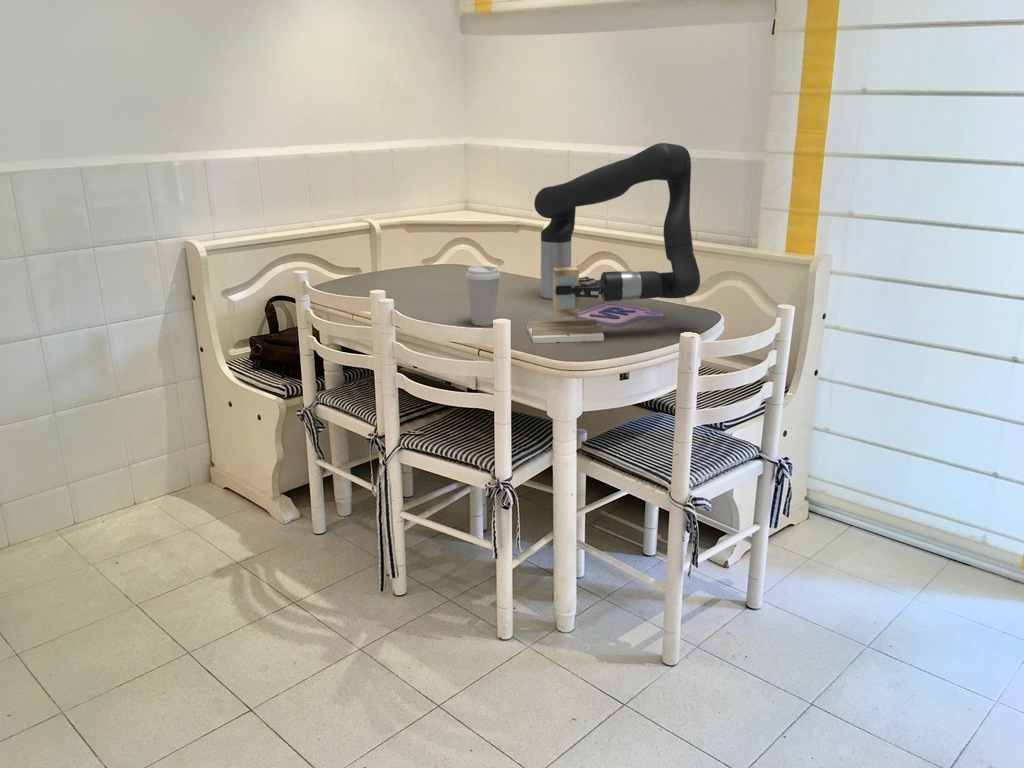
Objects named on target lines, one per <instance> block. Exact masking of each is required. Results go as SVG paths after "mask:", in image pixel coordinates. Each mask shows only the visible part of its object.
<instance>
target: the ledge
mask: <svg viewBox="0 0 1024 768" xmlns="http://www.w3.org/2000/svg"><path fill="white" fill-rule="evenodd" d="M527 323H528V324H527V325H526V327H527V328H526V330H527V333H528V335H529V337H530V339H531V341H532V343H533V344H553V343H554V344H556V342H560V343H581V342H582V341H583V342H584V341H585V342H599V341H600V342H604V340H605V334H604V333H603V330H604V329H603V325H598V324H597V320H596V319H575V318H574V319H557V320H556V319H555V320H553V319H552V320H551V319H549V320H528V321H527ZM583 342H582V343H583ZM585 342H584V343H585Z"/></svg>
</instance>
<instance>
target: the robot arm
mask: <svg viewBox="0 0 1024 768" xmlns="http://www.w3.org/2000/svg"><path fill="white" fill-rule="evenodd" d="M691 159H692V158H691V155H690V152H689V151H688V149H687V147H685V146H683V145H680V144H674V143H667V142H659V143H655V144H653V145H650V146H648V148H645V149H643V150H642V151H640V152H638V153H635V154H634V155H631V156H630V157H627V158H624V159H621V160H618V161H615V162H612V163H609V164H605V165H603V166H600V167H598V168H596V169H593V170H590V171H589V172H586V173H584V174H581V175H579V176H578V177H575V178H573V179H571V180H569V181H567V182H564V183H561V184H556V185H552V186H545V187H543V188H541V189H540V190H539V191H538V192H537V193H536V196H535V198H534V202H533V203H534V204H533V205H534V209H535V211H536V213H537V214H538V215H540V216H541V217H543V218H546V219H551V220H550V221H549V224H547V225H546V227H544V229H542V230H541V233H540V297H541V298H545V299H548V300H549V299H550V300H553V268H564V267H572V235H573V234H574V233H573V232H574V230H575V223H576V208H577V207H583V206H589V205H597V204H600V203H604V202H608V201H611V200H613V199H617V198H619V197H621V196H623V195H624V194H626V192H628V191H629V190H630V188H631V187H633V186H635V185H637V184H640V183H644V182H650V181H655V180H656V181H657V180H658V181H667V185H668V192H669V202H668V207H667V211H666V215H665V218H664V222H663V241H664V242H663V243H664V250H665V255H666V259H667V260H668V261H670V264H671V270H672V271H669V272H658V271H657V270H656V271H653V270H647V271H646V270H645V271H643V270H642V271H633V270H618V271H617V270H616V271H603V272H602V273H601V275H600V279H595V277H589V276H585V277H579V285H571V286H570V285H568V286H556V294H557V295H573V296H575V297H579V298H590V299H591V298H593V299H598V298H599V295H600V296H601V299H602V300H603V302H617V301H618V302H622V301H634V300H639V299H640V300H644V299H656V298H661V299H682V298H686V297H689V296H692V295H694V294H695V293H696V292H697V291H698V290H699V288H700V284H701V274H700V271H699V266H698V263H697V260H696V256H695V254H694V247H693V238H692V237H693V236H692V229H691V228H692V227H691V216H690V215H691V214H690V213H691V211H690V208H691V207H690V206H691V182H692V181H691V179H692V162H691Z"/></svg>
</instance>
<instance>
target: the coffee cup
mask: <svg viewBox="0 0 1024 768" xmlns="http://www.w3.org/2000/svg"><path fill="white" fill-rule="evenodd" d="M498 269H499V268H498V267H496V266H493V265H474V266H471V267H468V269H467V272H466V273H465V276H464V277H465V279H466V281H467V288H468V289H467V290H468V299H469V306H470V307H469V308H470V319H471V324H473V325H475V326H479V325H480V326H482V327H487V326H493V325H492V321H493V319H495V318H496V319H497V309H498V307H497V306H498V295H499V279H500V278H501V276H502V275H501V272H500V271H499V270H498ZM480 326H479V327H480Z"/></svg>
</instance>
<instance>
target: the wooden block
mask: <svg viewBox="0 0 1024 768" xmlns="http://www.w3.org/2000/svg"><path fill="white" fill-rule="evenodd" d="M579 278H580V270H579V268H578V267H577V266H571V267H564V268H553V299H552V315H553V316H554V318H563V317H565V318H566V317H575V316H578V313H579V302H580V301H579V299H580V297H575V296H573V295H557V294H556V286H568V285H570V286H571V285H579Z"/></svg>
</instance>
